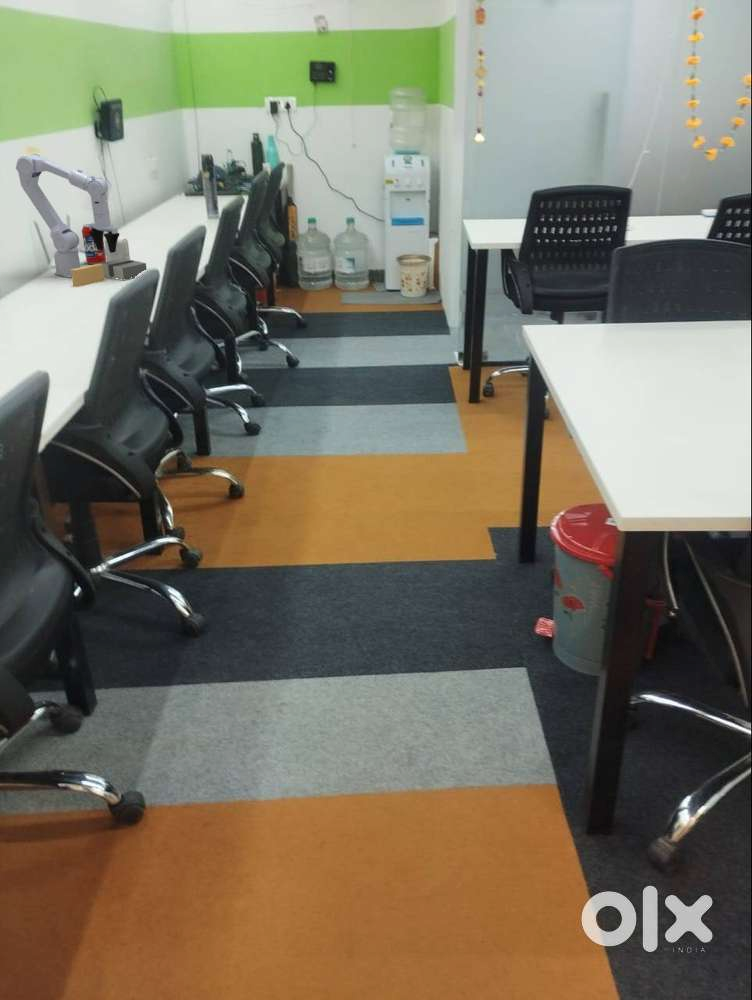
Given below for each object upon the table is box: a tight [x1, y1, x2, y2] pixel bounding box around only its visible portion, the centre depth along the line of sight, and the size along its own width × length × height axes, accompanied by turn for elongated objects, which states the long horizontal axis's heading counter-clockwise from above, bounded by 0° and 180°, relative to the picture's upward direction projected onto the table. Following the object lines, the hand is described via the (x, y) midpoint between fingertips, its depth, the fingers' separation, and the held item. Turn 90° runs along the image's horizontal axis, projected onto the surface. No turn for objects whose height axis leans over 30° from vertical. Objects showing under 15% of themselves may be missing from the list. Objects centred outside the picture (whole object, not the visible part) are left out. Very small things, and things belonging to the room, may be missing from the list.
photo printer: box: [104, 235, 131, 262], centre depth 334 cm, size 10×4×12 cm, turn 61°
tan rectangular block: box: [71, 264, 106, 287], centre depth 312 cm, size 2×12×6 cm, turn 142°
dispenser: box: [99, 258, 148, 281], centre depth 323 cm, size 14×12×4 cm
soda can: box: [81, 223, 107, 265], centre depth 338 cm, size 8×8×15 cm
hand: (106, 250), depth 319 cm, fingers open, 7 cm apart
